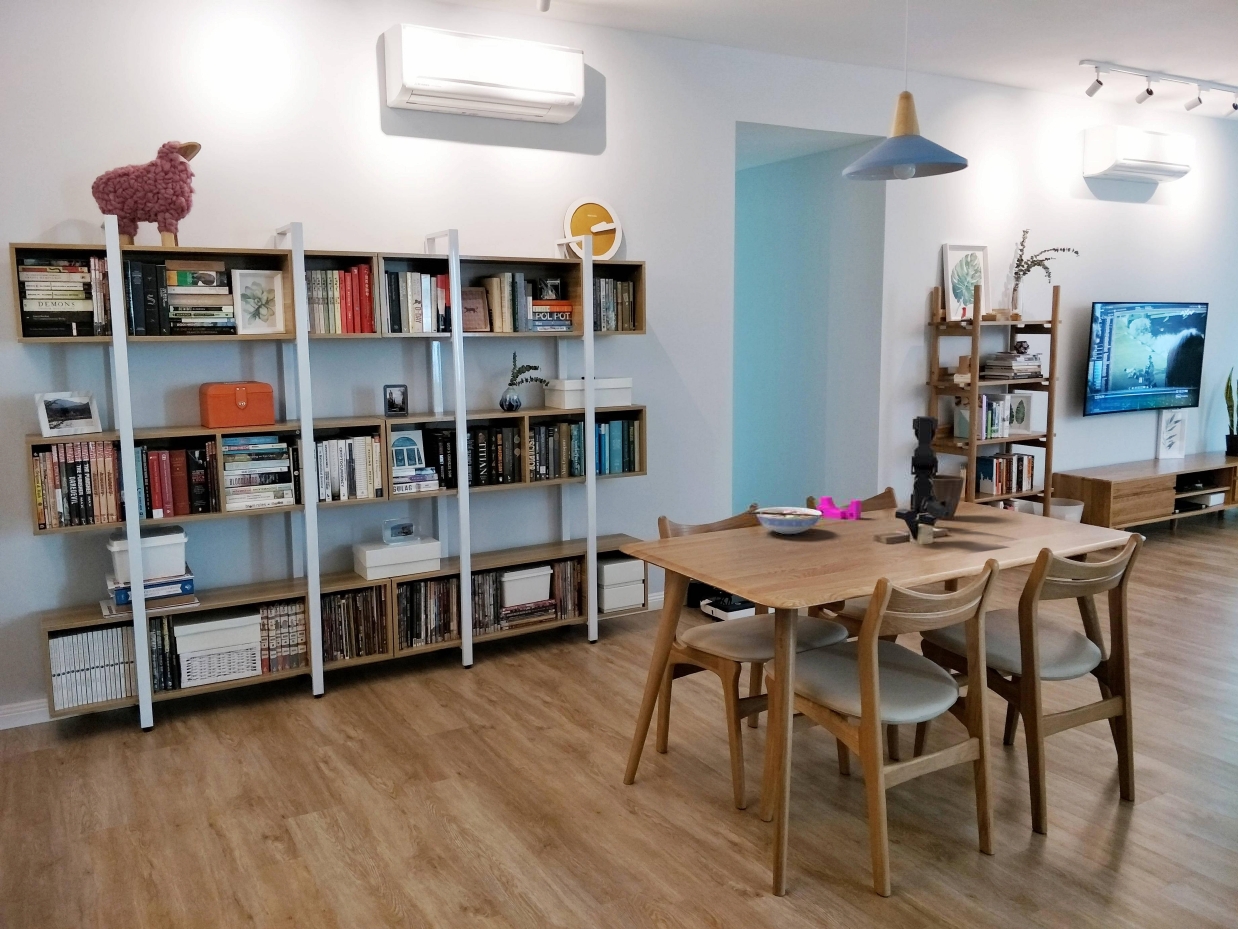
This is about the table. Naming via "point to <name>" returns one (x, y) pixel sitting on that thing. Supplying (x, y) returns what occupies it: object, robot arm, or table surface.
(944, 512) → the robot arm
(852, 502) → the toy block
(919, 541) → the cream cube
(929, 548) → the table surface
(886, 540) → the walnut plank
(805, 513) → the ramen bowl
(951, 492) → the plant pot
